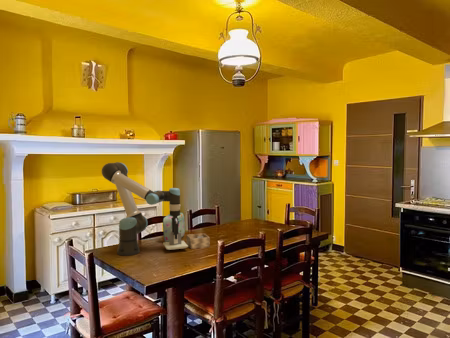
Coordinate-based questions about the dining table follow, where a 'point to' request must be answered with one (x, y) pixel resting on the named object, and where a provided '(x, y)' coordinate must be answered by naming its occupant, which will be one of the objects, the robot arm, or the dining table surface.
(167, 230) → the lunch box
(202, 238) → the crate
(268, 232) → the dining table surface
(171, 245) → the lid
